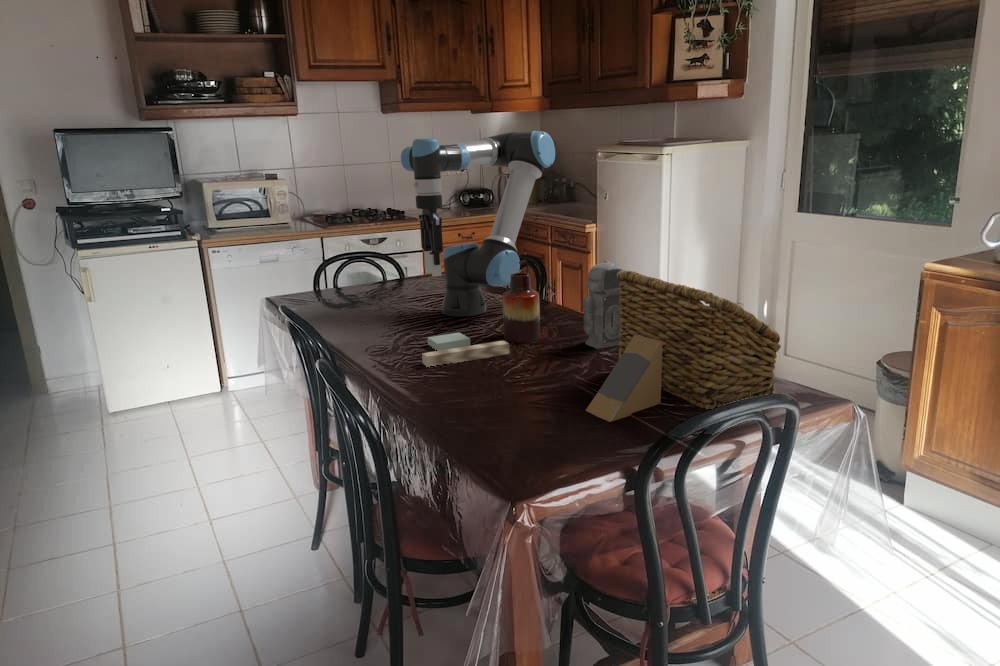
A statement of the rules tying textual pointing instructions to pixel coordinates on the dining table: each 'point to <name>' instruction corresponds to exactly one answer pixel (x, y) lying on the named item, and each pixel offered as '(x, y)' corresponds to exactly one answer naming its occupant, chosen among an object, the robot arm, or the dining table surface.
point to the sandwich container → (631, 381)
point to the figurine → (602, 306)
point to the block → (448, 341)
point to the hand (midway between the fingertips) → (433, 274)
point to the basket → (699, 340)
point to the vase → (521, 310)
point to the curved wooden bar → (465, 353)
